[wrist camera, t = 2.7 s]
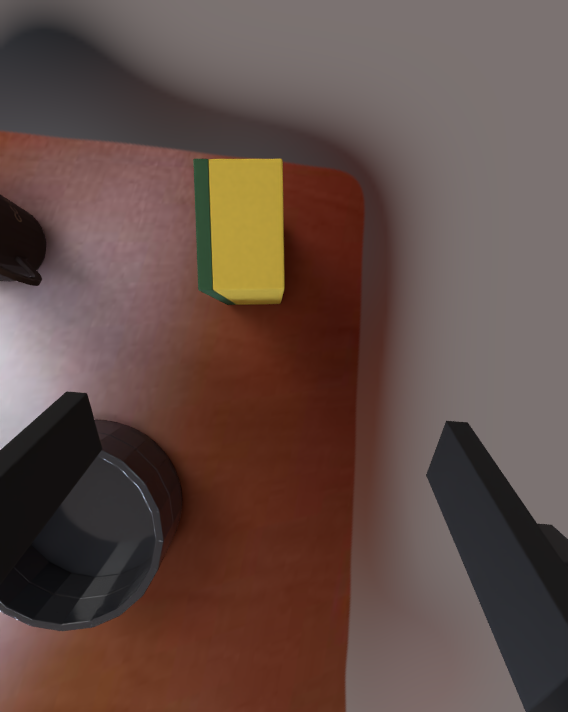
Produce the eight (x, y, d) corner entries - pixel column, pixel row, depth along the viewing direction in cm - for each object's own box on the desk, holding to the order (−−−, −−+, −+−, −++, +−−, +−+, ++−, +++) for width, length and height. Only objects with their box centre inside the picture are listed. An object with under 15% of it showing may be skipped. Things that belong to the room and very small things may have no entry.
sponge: (279, 223, 29) (282, 158, 18) (280, 303, 29) (284, 289, 18) (224, 223, 28) (193, 158, 18) (226, 304, 29) (198, 290, 18)
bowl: (211, 469, 30) (198, 500, 25) (134, 603, 31) (104, 662, 26) (62, 389, 29) (14, 403, 24) (-13, 530, 30) (-77, 575, 25)
